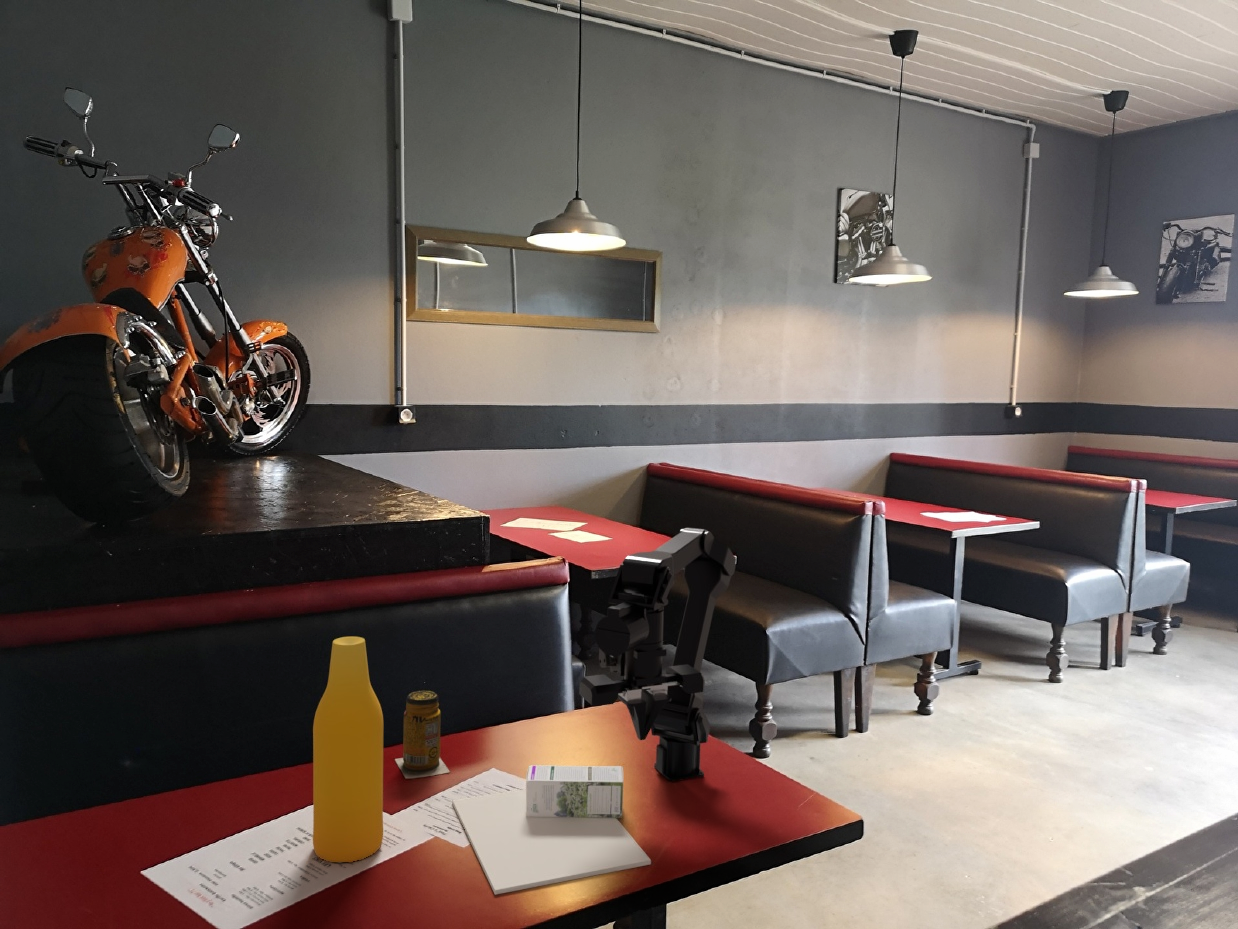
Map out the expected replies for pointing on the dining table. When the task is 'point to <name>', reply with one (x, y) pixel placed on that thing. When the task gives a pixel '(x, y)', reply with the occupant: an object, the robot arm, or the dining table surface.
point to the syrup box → (574, 791)
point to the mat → (542, 843)
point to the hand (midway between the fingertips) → (641, 739)
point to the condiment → (421, 737)
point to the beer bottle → (348, 759)
